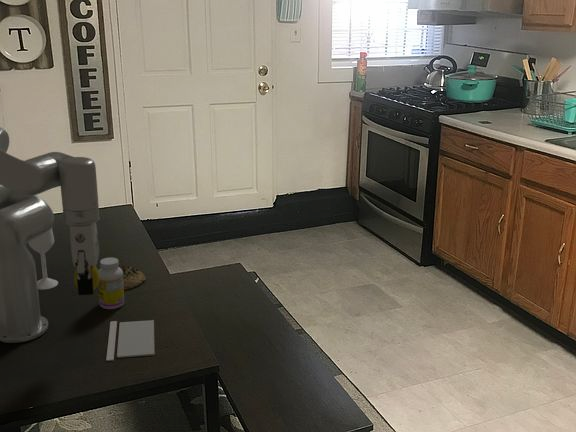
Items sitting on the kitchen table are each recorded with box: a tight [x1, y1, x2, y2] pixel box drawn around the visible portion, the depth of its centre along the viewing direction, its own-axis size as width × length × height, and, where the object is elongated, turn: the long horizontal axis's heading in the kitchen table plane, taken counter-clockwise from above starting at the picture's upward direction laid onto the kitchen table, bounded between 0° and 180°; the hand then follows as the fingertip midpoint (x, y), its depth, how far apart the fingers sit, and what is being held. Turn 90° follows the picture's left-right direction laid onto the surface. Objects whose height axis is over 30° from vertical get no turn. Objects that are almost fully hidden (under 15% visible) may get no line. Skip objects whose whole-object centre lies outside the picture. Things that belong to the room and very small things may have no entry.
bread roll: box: [118, 265, 147, 290], centre depth 181 cm, size 11×11×5 cm
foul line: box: [105, 320, 118, 362], centre depth 151 cm, size 2×18×1 cm, turn 12°
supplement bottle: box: [97, 257, 125, 310], centre depth 166 cm, size 7×7×13 cm
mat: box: [116, 319, 156, 359], centre depth 152 cm, size 8×16×1 cm, turn 12°
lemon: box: [73, 263, 99, 291], centre depth 142 cm, size 6×6×8 cm
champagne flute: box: [28, 227, 59, 290], centre depth 174 cm, size 7×7×24 cm
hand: (87, 287), depth 143 cm, fingers closed on lemon, 5 cm apart
